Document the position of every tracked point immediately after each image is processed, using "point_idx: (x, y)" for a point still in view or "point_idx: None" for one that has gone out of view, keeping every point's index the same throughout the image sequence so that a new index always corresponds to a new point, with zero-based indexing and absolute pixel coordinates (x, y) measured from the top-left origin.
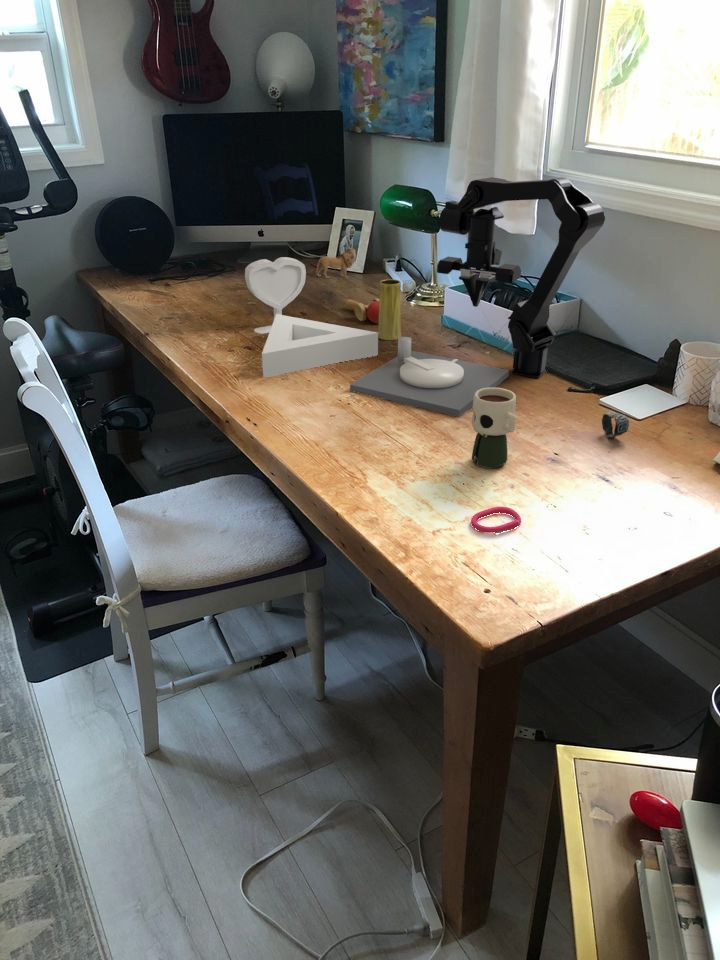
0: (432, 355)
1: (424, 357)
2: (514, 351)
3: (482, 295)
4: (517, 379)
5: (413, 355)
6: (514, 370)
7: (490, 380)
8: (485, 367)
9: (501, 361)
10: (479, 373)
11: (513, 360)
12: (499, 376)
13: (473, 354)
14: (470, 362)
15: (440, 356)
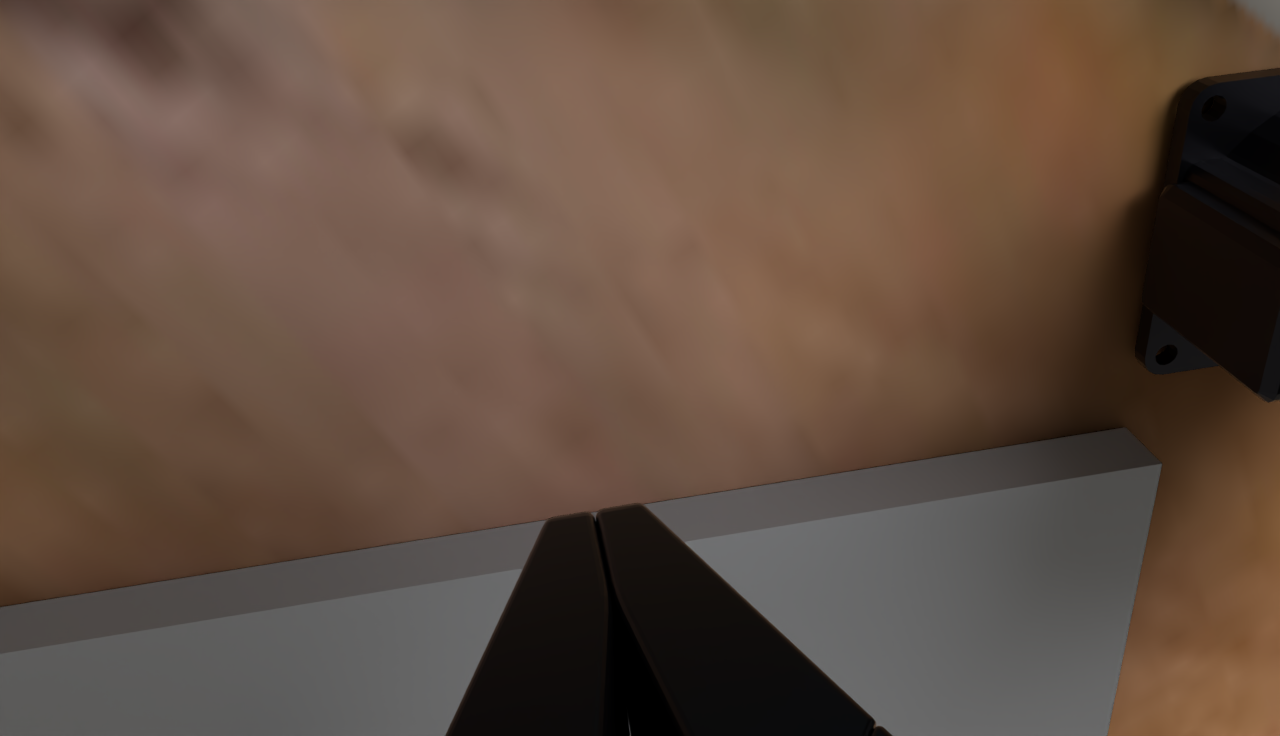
0: (289, 624)
1: (268, 708)
2: (1263, 397)
3: (804, 658)
4: (1212, 432)
5: (132, 733)
6: (1168, 336)
7: (1070, 724)
8: (929, 544)
9: (929, 106)
10: (936, 676)
11: (1192, 343)
12: (1114, 625)
13: (522, 105)
14: (742, 536)
15: (378, 595)
